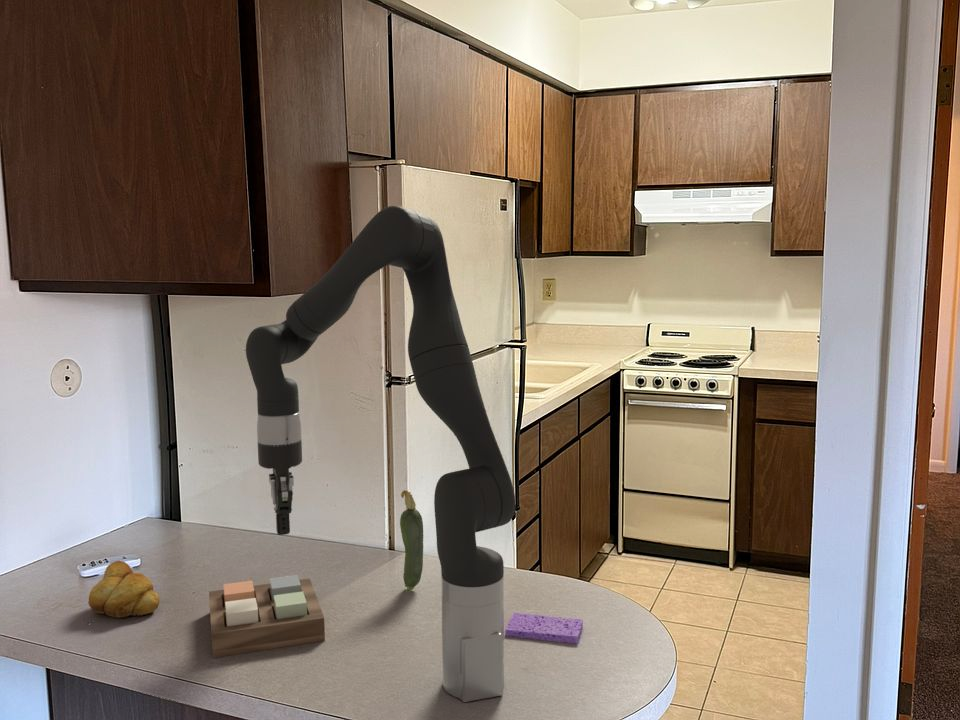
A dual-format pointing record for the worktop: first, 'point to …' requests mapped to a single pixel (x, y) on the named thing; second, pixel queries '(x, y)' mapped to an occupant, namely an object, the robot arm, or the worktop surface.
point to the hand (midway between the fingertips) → (283, 533)
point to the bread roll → (123, 592)
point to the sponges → (544, 627)
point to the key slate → (284, 585)
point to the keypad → (265, 624)
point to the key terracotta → (238, 591)
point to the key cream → (241, 612)
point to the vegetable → (412, 541)
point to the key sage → (290, 605)
